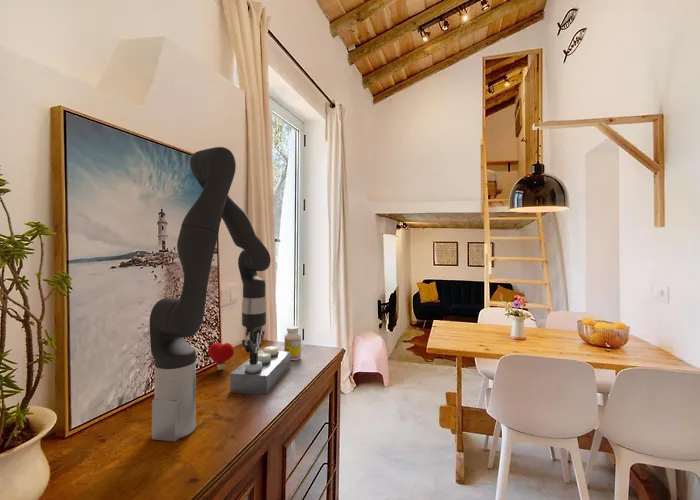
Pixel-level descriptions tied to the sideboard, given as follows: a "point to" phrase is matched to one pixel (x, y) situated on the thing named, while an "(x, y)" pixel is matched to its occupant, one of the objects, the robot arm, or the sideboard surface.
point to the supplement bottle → (293, 342)
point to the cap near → (253, 367)
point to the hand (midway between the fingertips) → (253, 363)
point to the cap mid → (264, 358)
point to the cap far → (271, 350)
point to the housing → (260, 375)
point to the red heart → (221, 353)
